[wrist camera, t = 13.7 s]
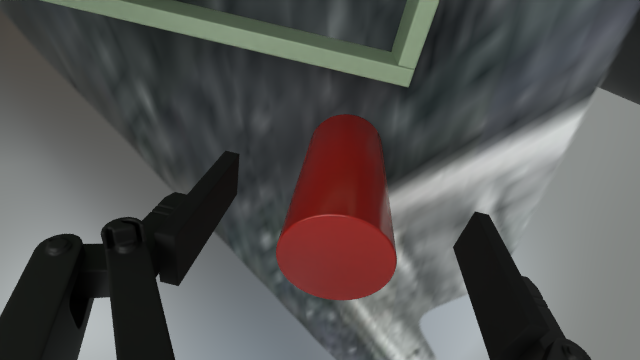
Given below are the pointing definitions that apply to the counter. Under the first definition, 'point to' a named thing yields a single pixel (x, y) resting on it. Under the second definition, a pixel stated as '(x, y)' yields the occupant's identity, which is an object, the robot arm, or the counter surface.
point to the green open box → (280, 35)
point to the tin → (340, 215)
